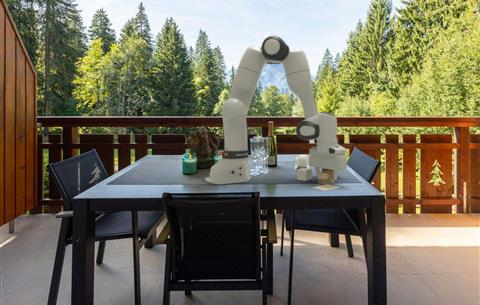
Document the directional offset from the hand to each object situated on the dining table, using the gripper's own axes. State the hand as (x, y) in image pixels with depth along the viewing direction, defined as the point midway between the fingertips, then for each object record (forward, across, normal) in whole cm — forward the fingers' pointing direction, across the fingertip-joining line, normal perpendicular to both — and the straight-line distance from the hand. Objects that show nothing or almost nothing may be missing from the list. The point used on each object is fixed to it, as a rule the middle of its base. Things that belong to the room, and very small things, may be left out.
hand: (326, 178), depth 171 cm
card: (+2, +7, -7) cm, 10 cm away
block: (+2, -8, +11) cm, 14 cm away
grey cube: (+2, -12, -2) cm, 13 cm away
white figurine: (+2, -33, +16) cm, 36 cm away
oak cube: (+2, 0, 0) cm, 2 cm away
